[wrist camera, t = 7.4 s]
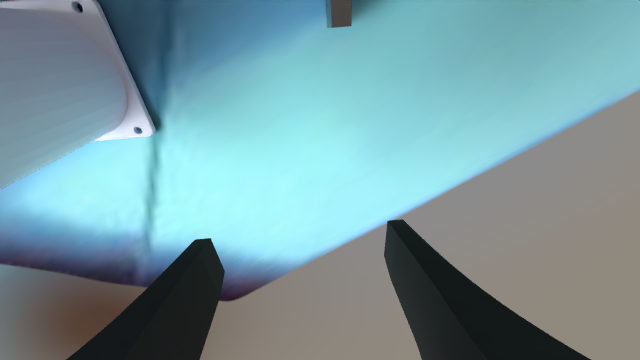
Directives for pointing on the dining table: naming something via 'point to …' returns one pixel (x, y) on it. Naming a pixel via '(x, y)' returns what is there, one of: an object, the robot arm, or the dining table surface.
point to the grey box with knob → (338, 13)
